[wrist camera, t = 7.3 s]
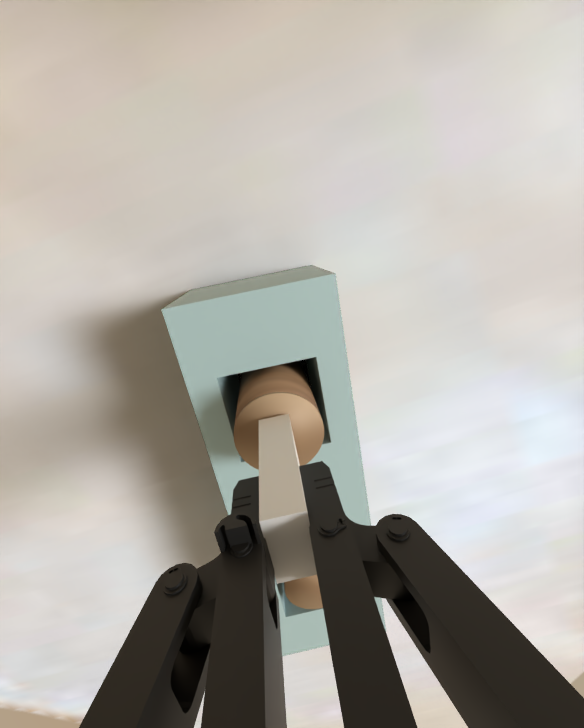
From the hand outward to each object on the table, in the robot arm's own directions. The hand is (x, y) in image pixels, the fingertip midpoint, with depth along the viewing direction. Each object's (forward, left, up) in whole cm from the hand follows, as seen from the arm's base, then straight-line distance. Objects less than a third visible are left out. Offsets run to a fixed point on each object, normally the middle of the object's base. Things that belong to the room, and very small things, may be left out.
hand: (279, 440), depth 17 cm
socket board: (+7, 0, -11) cm, 13 cm away
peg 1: (0, 0, -8) cm, 8 cm away
